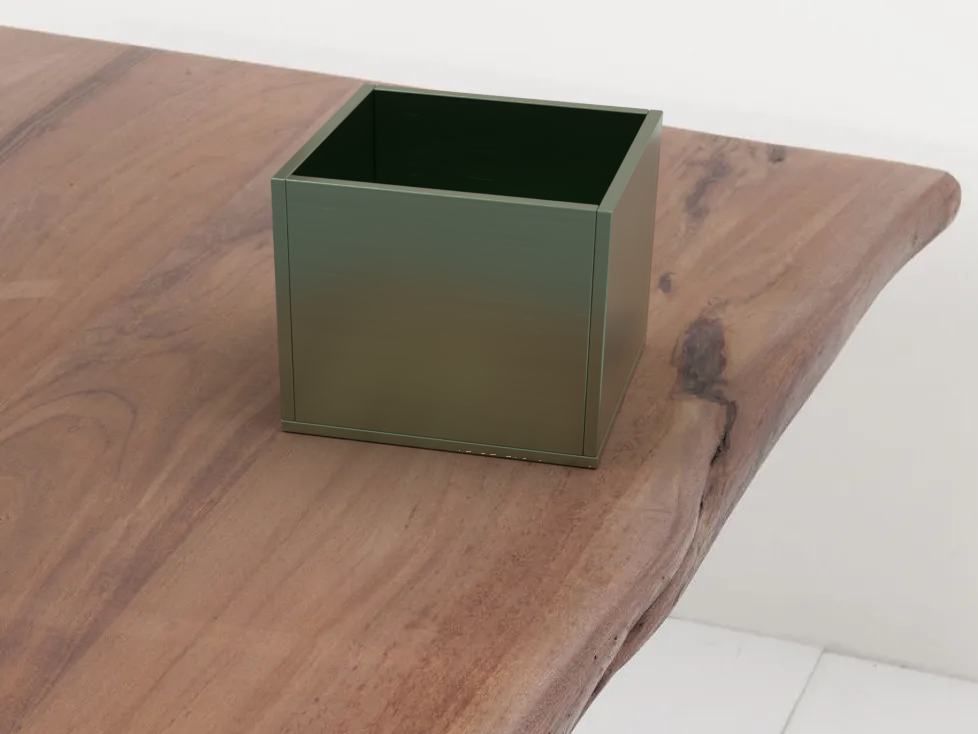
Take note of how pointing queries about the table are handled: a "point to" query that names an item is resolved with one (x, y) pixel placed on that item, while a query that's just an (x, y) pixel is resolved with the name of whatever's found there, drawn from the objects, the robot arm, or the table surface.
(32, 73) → the table surface
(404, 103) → the bin
